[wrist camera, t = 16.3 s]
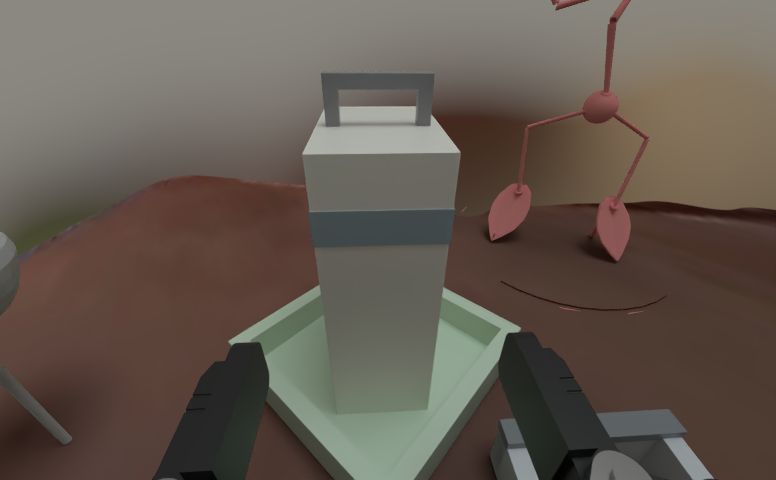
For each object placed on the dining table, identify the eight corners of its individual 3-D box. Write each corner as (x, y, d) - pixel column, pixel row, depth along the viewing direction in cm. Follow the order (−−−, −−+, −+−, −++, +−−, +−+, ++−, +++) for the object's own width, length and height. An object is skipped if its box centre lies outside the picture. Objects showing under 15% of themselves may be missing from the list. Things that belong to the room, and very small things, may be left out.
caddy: (343, 316, 27) (320, 63, 17) (412, 313, 27) (428, 63, 17) (336, 415, 20) (291, 87, 10) (428, 410, 20) (471, 87, 10)
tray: (374, 276, 32) (373, 251, 31) (512, 356, 25) (521, 327, 23) (238, 370, 23) (228, 341, 22) (387, 540, 16) (388, 515, 14)
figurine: (445, 206, 45) (491, -200, 25) (671, 246, 37) (987, -290, 18) (411, 274, 33) (448, -390, 13) (732, 353, 25) (1892, -909, 6)
